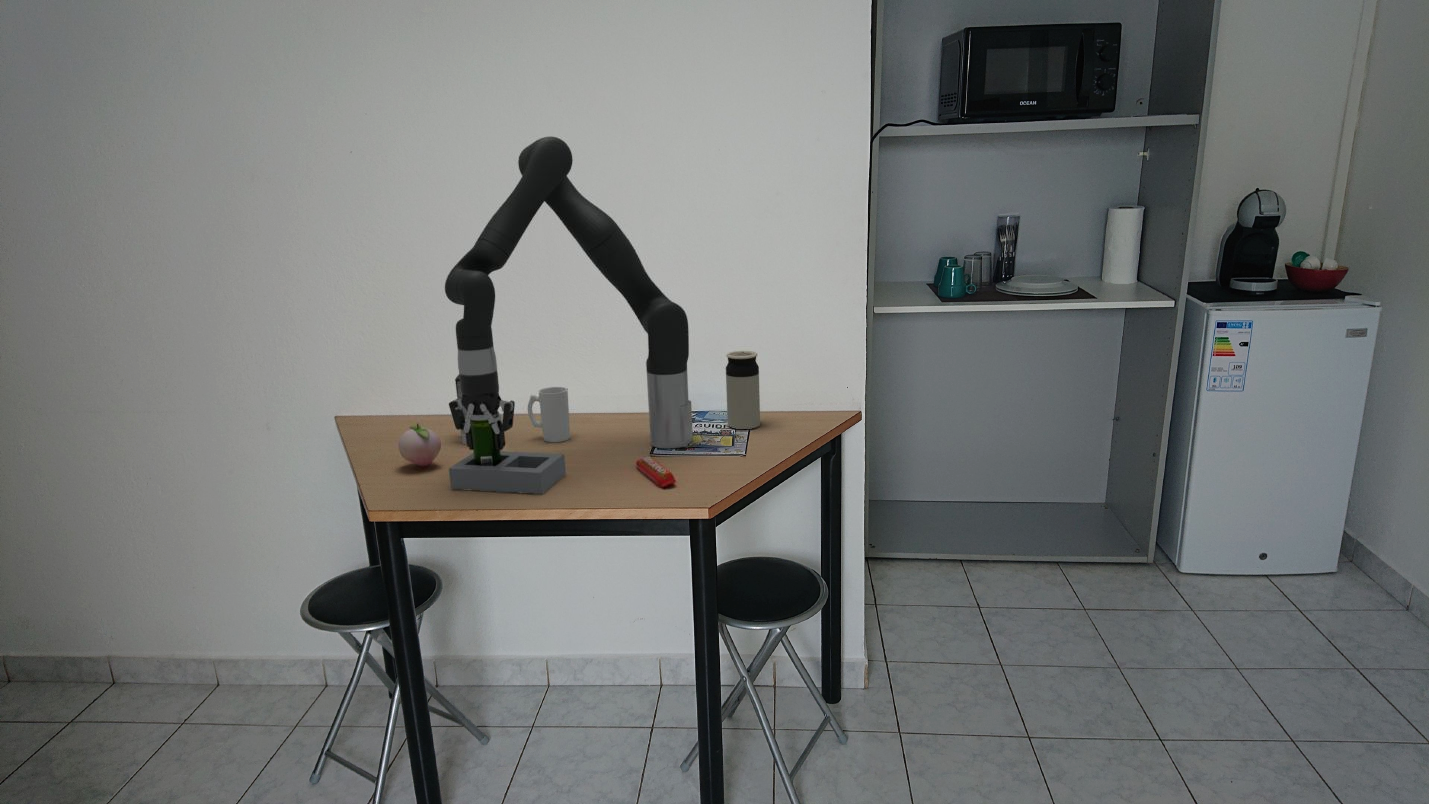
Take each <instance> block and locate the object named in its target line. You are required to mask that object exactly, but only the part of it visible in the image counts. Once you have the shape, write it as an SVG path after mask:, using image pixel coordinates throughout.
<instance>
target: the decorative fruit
mask: <svg viewBox="0 0 1429 804" xmlns="http://www.w3.org/2000/svg"><path fill="white" fill-rule="evenodd" d="M438 435H439V434H437V433H436V432H435V431H433V430H431V429H428V428H425V427H422V426H421V425H419V423H418V422H417V423H416V425H410V426H409V429H408V430H406V431H404V432H403V433H402V435H401V436H400V437H399V440H398V443H397V446H398V451H399V453H400V455H401V457H402V458H403V459H404V460H405V461H407V462H409V463H412V464H415V465H417V466H418V465H419V466H420V467H422V468H424V467H426V466H427V465H429V464H431V463H432V462H433V461H434V460H435V459H436V458H437V457H438V456H439V454H440V451H441V447H442V440H441V438H440V436H438Z"/></svg>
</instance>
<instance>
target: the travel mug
mask: <svg viewBox="0 0 1429 804" xmlns="http://www.w3.org/2000/svg"><path fill="white" fill-rule="evenodd" d="M725 355H726V357H727V361H728V362H727V364H726V366H725V379H726V380H725V383H726V385H725V386H726V388H725V389H726V412H727V413H726V414H727V415H726V416H727V420H726V421H727V426H728V427H729V426H730V427H732V428H736V429H735V430H737V429H749V430H753V429H752V428H754V429H757V428H758V427H760V425H761V408H760V407H761V404H760V402H761V400H760V395H761V394H760V369H759V365H758V363H757V357H758V352H756V351H751V350H736V351H731V352H728V353H726V354H725ZM730 427H729V428H730ZM732 428H731V429H732Z"/></svg>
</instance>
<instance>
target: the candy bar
mask: <svg viewBox="0 0 1429 804" xmlns="http://www.w3.org/2000/svg"><path fill="white" fill-rule="evenodd" d="M635 464H636V466H637V469H638V470H639V471H640V472H641V473H642V474H643V475H644V476H645V477H647V478H648V479H649V480H650V479H651V481H652V482H653V483H654V484H656V485H657V486H658V487H659V486H660V488H661V487H665V488H667V487H669V486H670V485H673V484H675V483H676V482H677V481H676V479H675V476H674V474H673V473H672V472H671V471H670V470H669V469H668V468H666V467H665V466H664V465H662V464H661V463H660V462H658V461H657V460H656V459H654V458H653V457H652V456H650V455H646V456H643V457H641V458H639V459H637V460H636V462H635Z"/></svg>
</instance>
